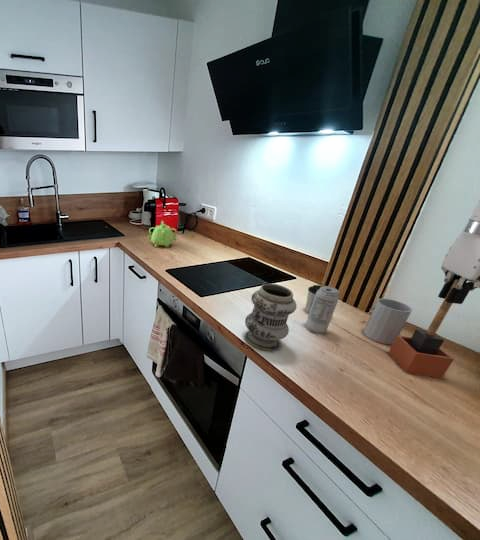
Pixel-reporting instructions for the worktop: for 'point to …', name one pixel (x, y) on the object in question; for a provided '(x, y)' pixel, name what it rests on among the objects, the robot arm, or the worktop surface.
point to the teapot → (162, 235)
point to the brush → (431, 331)
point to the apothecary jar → (269, 316)
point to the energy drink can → (322, 309)
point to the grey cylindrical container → (387, 320)
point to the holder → (419, 359)
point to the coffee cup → (311, 297)
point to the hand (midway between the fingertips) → (449, 300)
